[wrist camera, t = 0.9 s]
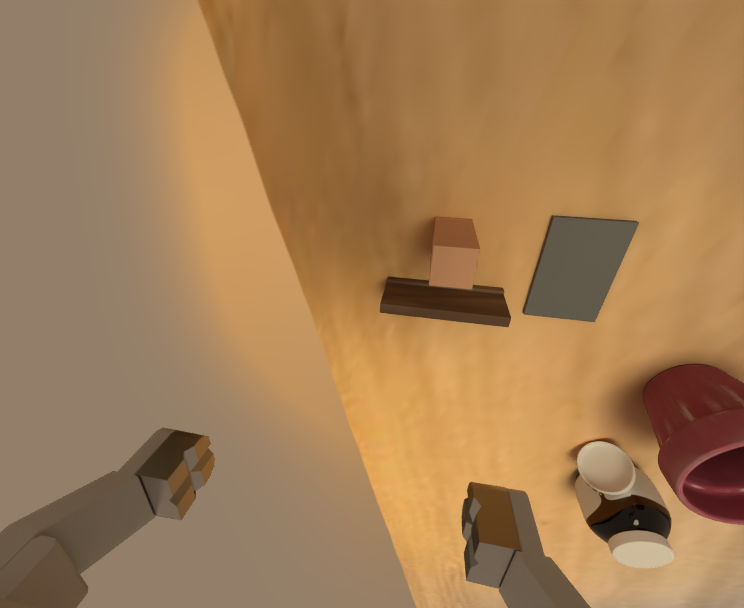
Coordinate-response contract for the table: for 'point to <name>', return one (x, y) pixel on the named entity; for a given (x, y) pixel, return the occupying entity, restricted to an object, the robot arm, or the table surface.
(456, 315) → the brown wooden stand
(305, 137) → the table surface
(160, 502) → the robot arm
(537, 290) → the charcoal mat
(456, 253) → the terracotta block
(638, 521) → the spread jar
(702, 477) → the plant pot
